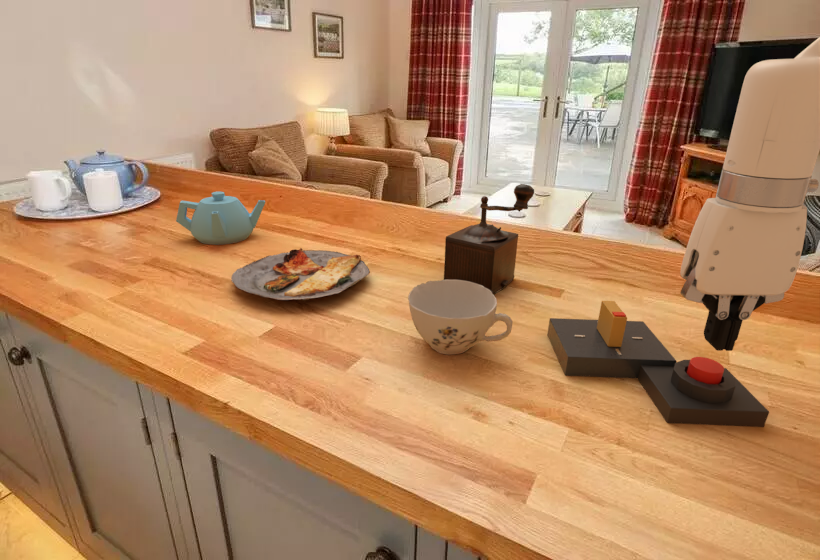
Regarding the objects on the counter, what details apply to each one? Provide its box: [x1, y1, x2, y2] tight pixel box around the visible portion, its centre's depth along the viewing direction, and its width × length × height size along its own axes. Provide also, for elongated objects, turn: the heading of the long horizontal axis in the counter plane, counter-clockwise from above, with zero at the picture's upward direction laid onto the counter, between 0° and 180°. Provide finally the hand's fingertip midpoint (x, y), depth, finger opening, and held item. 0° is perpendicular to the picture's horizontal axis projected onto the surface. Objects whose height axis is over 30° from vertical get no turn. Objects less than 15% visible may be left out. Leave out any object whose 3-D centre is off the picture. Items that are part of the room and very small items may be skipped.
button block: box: [637, 359, 770, 428], centre depth 60 cm, size 11×9×4 cm
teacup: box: [407, 279, 513, 355], centre depth 70 cm, size 15×12×8 cm
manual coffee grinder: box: [443, 183, 535, 295], centre depth 93 cm, size 16×11×18 cm
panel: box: [546, 317, 677, 380], centre depth 70 cm, size 14×11×3 cm
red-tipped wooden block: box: [597, 300, 628, 347], centre depth 68 cm, size 5×2×5 cm, turn 177°
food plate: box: [231, 247, 371, 301], centre depth 92 cm, size 25×23×4 cm
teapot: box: [175, 191, 266, 246], centre depth 115 cm, size 15×15×11 cm
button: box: [687, 356, 725, 384], centre depth 59 cm, size 4×4×2 cm
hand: (717, 344), depth 58 cm, fingers closed
